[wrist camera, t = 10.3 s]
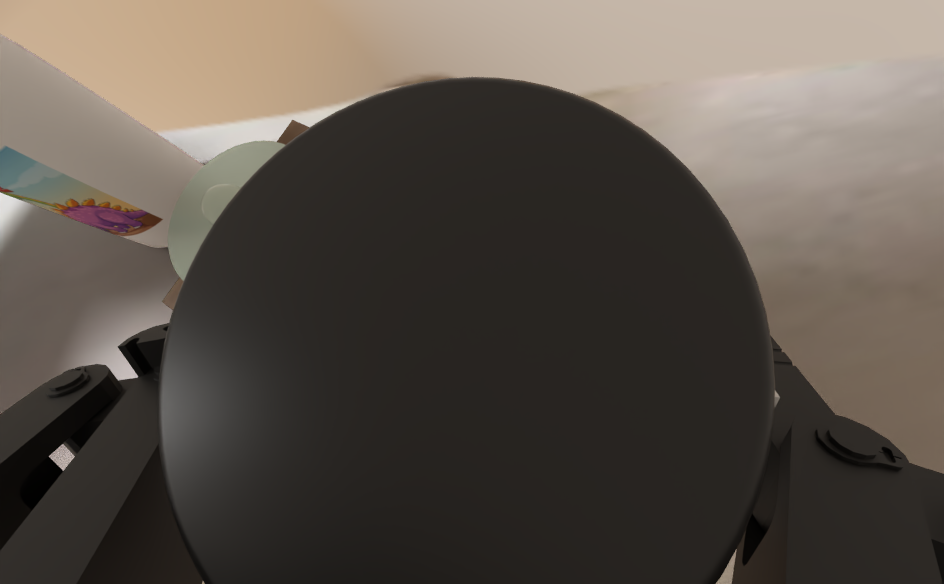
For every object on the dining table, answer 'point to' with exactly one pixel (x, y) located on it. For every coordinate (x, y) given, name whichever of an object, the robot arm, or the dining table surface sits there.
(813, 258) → the dining table surface
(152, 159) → the milk bottle
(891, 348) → the dining table surface
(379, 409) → the jar
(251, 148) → the sugar pot
